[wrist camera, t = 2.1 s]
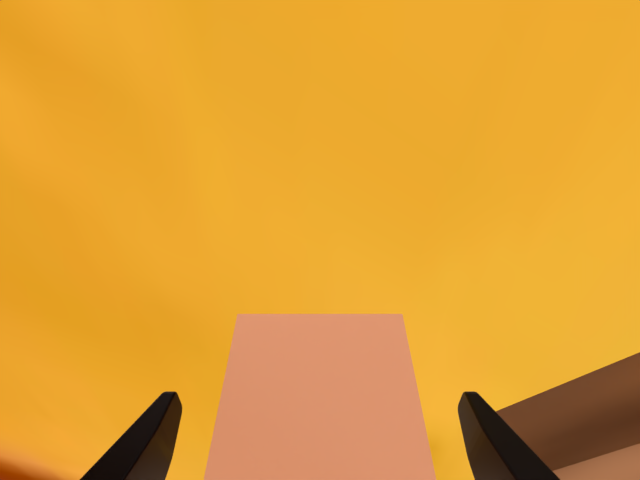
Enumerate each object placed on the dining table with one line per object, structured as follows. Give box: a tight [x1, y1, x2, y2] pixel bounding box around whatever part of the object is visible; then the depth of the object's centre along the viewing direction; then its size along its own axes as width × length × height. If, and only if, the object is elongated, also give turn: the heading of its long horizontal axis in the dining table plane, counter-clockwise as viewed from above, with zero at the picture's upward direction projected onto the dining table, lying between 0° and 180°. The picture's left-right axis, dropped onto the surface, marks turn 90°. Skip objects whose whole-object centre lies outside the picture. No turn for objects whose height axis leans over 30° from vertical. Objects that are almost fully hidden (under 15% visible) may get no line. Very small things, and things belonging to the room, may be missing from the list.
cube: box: [204, 314, 436, 480], centre depth 12 cm, size 5×5×5 cm
